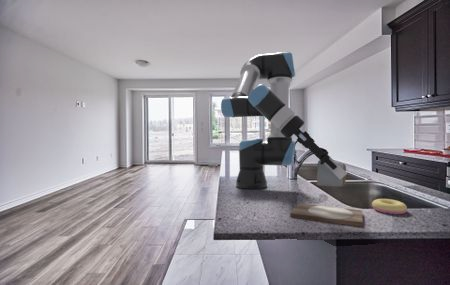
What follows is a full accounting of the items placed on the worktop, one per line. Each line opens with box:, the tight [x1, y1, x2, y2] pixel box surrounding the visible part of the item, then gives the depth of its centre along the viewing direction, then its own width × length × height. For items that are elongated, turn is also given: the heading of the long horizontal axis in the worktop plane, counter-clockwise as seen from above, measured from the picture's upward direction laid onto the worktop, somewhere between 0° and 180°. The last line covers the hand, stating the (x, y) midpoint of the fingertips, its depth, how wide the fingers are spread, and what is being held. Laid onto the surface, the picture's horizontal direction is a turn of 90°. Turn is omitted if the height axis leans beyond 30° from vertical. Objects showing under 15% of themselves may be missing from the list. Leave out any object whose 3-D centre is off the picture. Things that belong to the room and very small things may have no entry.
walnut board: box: [289, 203, 364, 228], centre depth 81 cm, size 13×20×1 cm, turn 63°
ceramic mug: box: [316, 160, 347, 187], centre depth 81 cm, size 11×8×8 cm
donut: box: [371, 198, 408, 216], centre depth 85 cm, size 10×5×9 cm
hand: (341, 173), depth 78 cm, fingers closed on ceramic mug, 8 cm apart
